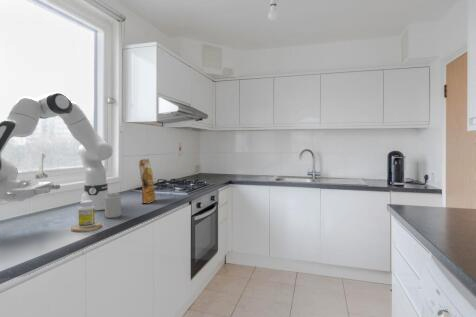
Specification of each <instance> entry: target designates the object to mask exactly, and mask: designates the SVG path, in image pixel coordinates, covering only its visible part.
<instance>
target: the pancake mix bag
mask: <svg viewBox="0 0 476 317" xmlns="http://www.w3.org/2000/svg"><path fill="white" fill-rule="evenodd" d="M138 166H139V167H138V168H139V172H140V181H141V184H142V185H141V186H142V187H141V192H142V193H141V204H142V203H149V202H151V201H153V200H155V199H156V198H157V197H156V193H155V187H154V186H155V184H154V176H153V169H152V165H151V162H150V159H149V158H147V159H145V158H144V159H140V160H139V161H138ZM156 200H157V199H156ZM149 204H150V203H149Z"/></svg>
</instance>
